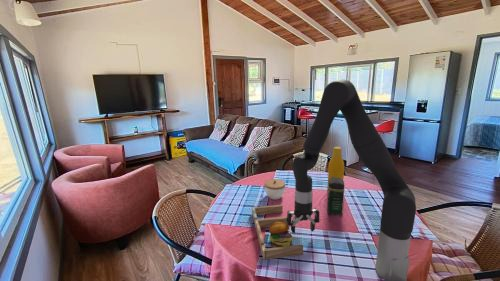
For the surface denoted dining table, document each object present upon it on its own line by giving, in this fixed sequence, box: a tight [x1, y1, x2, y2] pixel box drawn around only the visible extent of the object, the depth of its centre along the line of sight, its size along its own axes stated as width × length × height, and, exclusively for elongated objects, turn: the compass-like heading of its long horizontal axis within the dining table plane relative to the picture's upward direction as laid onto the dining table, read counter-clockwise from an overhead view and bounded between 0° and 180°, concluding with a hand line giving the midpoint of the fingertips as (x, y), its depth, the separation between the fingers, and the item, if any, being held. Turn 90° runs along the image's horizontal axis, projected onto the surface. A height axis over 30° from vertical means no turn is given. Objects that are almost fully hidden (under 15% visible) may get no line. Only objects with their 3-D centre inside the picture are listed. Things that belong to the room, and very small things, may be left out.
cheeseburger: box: [268, 222, 294, 248], centre depth 105 cm, size 10×11×10 cm
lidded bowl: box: [264, 178, 286, 200], centre depth 145 cm, size 13×13×11 cm
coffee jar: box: [326, 177, 345, 216], centre depth 126 cm, size 10×8×19 cm
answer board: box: [251, 204, 304, 260], centre depth 112 cm, size 34×17×5 cm, turn 7°
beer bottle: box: [327, 146, 345, 191], centre depth 147 cm, size 9×9×29 cm
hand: (302, 231), depth 106 cm, fingers open, 8 cm apart
